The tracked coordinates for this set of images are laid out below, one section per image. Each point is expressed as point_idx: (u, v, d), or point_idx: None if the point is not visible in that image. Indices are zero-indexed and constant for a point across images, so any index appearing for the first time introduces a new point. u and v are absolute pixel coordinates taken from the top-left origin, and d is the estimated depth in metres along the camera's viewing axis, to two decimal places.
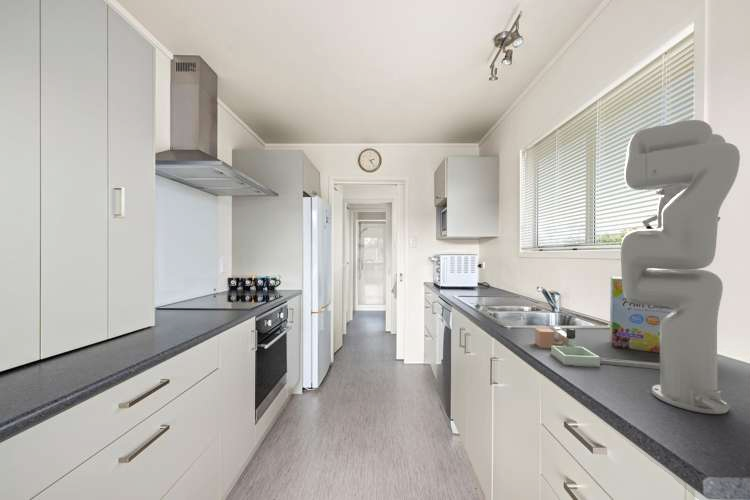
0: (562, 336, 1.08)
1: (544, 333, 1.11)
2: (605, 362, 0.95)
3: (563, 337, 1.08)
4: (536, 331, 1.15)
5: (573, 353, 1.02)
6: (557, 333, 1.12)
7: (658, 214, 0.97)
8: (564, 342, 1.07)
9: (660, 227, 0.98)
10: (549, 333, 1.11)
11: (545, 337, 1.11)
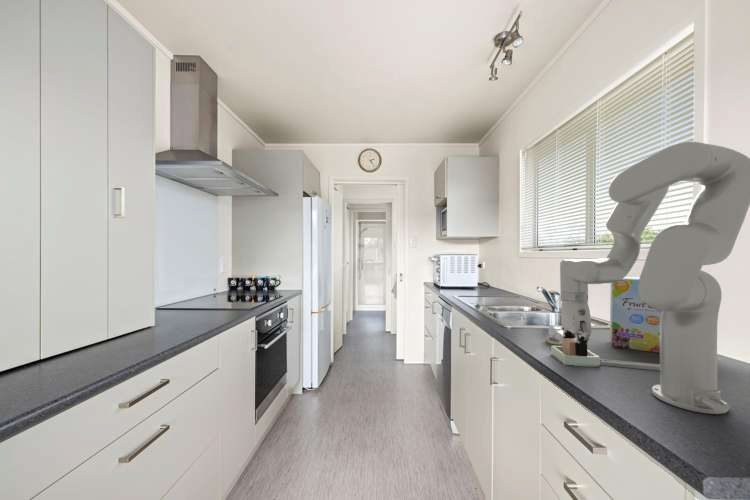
0: (562, 336, 1.08)
1: (574, 344, 0.96)
2: (605, 363, 0.94)
3: (563, 337, 1.08)
4: (564, 341, 1.00)
5: None
6: (557, 333, 1.12)
7: (590, 321, 0.93)
8: None
9: None
10: None
11: None
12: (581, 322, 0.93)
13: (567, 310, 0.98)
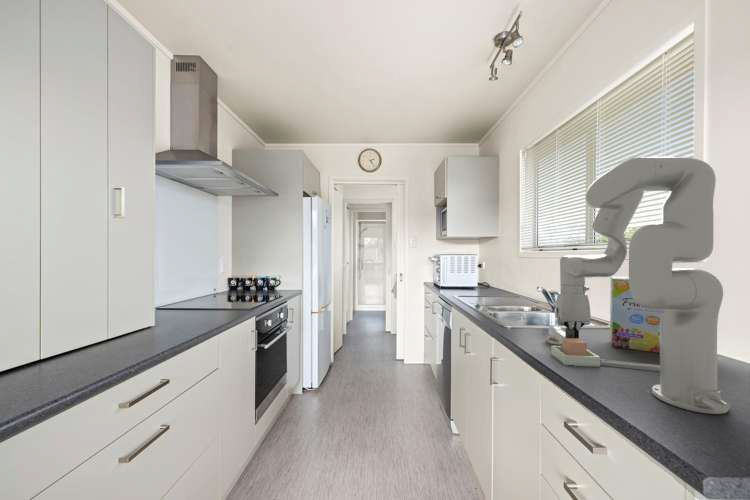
0: (561, 336, 1.08)
1: (574, 344, 0.96)
2: (605, 364, 0.94)
3: (562, 337, 1.08)
4: (564, 341, 1.00)
5: None
6: (557, 333, 1.13)
7: None
8: None
9: (575, 321, 1.10)
10: (580, 344, 0.96)
11: (575, 349, 0.96)
12: None
13: (579, 302, 1.06)
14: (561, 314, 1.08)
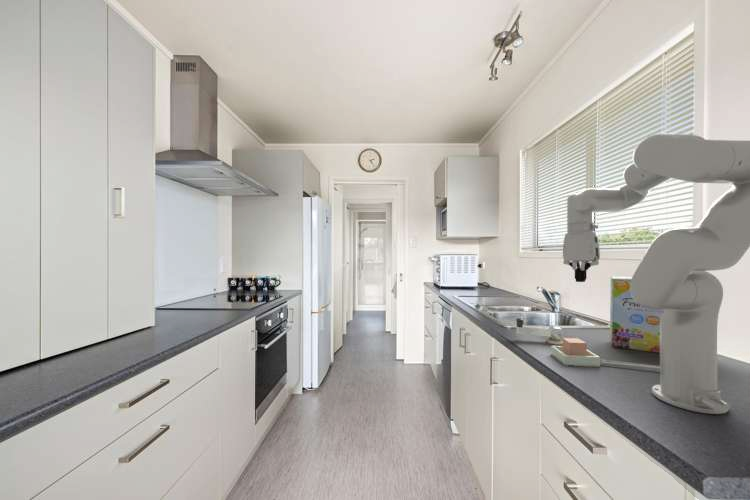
0: None
1: (574, 344, 0.96)
2: (606, 364, 0.94)
3: None
4: (564, 341, 1.00)
5: None
6: None
7: None
8: None
9: None
10: (580, 344, 0.96)
11: (575, 349, 0.96)
12: (595, 249, 1.00)
13: (579, 240, 1.03)
14: (563, 253, 1.08)
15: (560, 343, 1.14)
